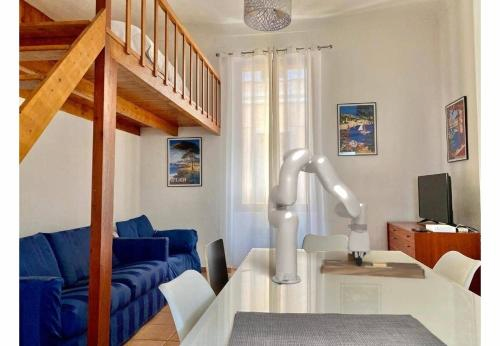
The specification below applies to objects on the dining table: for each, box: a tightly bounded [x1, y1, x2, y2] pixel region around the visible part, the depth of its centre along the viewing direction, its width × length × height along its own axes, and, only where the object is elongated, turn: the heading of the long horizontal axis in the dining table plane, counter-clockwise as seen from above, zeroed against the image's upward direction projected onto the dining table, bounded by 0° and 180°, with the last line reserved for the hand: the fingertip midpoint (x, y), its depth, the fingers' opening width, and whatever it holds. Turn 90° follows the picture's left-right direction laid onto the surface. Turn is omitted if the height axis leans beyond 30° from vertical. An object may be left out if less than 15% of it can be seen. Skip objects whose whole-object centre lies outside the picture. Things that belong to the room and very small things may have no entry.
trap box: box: [321, 259, 426, 280], centre depth 180 cm, size 12×46×4 cm, turn 78°
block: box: [372, 261, 387, 267], centre depth 179 cm, size 6×6×5 cm
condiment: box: [347, 252, 360, 261], centre depth 203 cm, size 7×8×12 cm
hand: (358, 265), depth 181 cm, fingers closed
